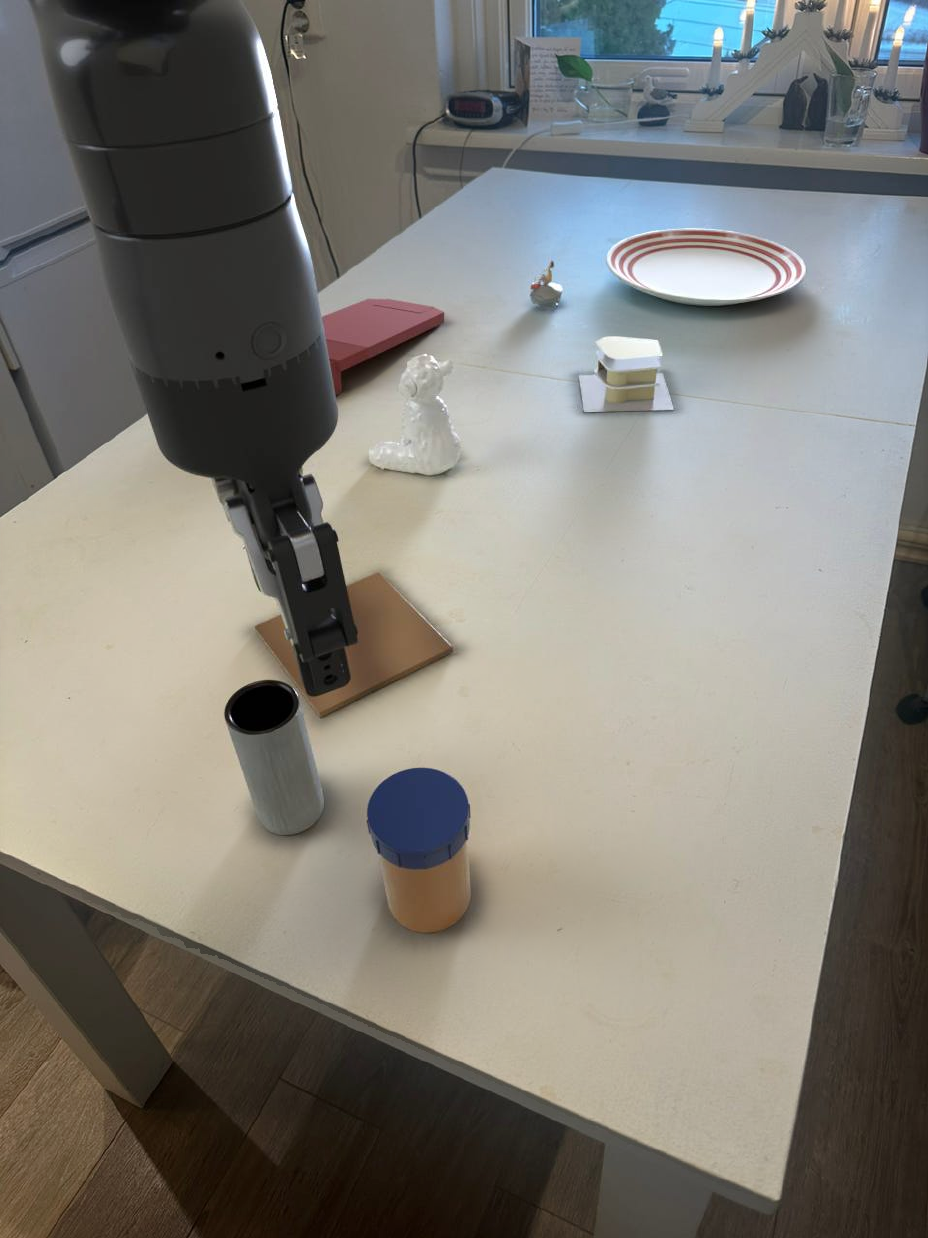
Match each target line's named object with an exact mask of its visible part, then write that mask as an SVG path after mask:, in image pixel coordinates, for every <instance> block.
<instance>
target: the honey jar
mask: <svg viewBox="0 0 928 1238" xmlns="http://www.w3.org/2000/svg"><path fill="white" fill-rule="evenodd" d="M377 854H378V853H377ZM378 860H379V864H380V870H381V876H382V880H383V887H384V890H385V896H386V900H387V906H388V909H389V911H390V913H391V915H392V916H393V918H394V920H396V922H397V923H399V924H400V925H401V926H403V927H404V928H406V929H407V930H410V931H412V932H417V933H423V934H429V933H436V932H437V933H438V932H441V931H444V930H446V929H448V928H450V927H452V926H453V925H454V924H456V923H457V922H458V921H459V920H461V918H462V917H463V916H464V915H465V913H466V912H467V909H468V908H469V905H470V901H471V897H472V887H471V886H472V885H471V873H470V860H469V845H468V840H466V842H465V844H464V845H463V847H462V848H461V849H460V851H459V852H458V853H457V854H456V855H455V856H454V857H452V859H450V860H448V861H446V862H445V863H443V864H441V865H438V866H435V867H432V868H428V869H426V870H425V869H406V868H402V867H400V868H399V867H398V866H396V865H394V864H392V863H390V862H388V861H387V860H386V859H384V858H383V857H382V856H381V855H380V854H378Z"/></svg>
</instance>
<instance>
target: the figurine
mask: <svg viewBox="0 0 928 1238" xmlns="http://www.w3.org/2000/svg"><path fill="white" fill-rule="evenodd" d="M548 264H549V265H548V266H547V267H545V268H544V269H543V271H542V273H540V274H539V276H540V278H539V279H538V277H539V276H535V277H533V278H532V280H534V281H535V282H532V283H531V284H530V288H529V289H530V292H529V298H530V301H531V303H532V304H533V305H536V306H537V305H538V306H539V307H540V308H554V309H555V308H557V307H558V305H559V303H560V301H561V299H562V298H561V297H562V293H563V287H562V286H561V285H560V284H557V283H554V282H552V280H553V273H552V269H555V261H554V260H553V259H551V260H550V261H549V263H548Z"/></svg>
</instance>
